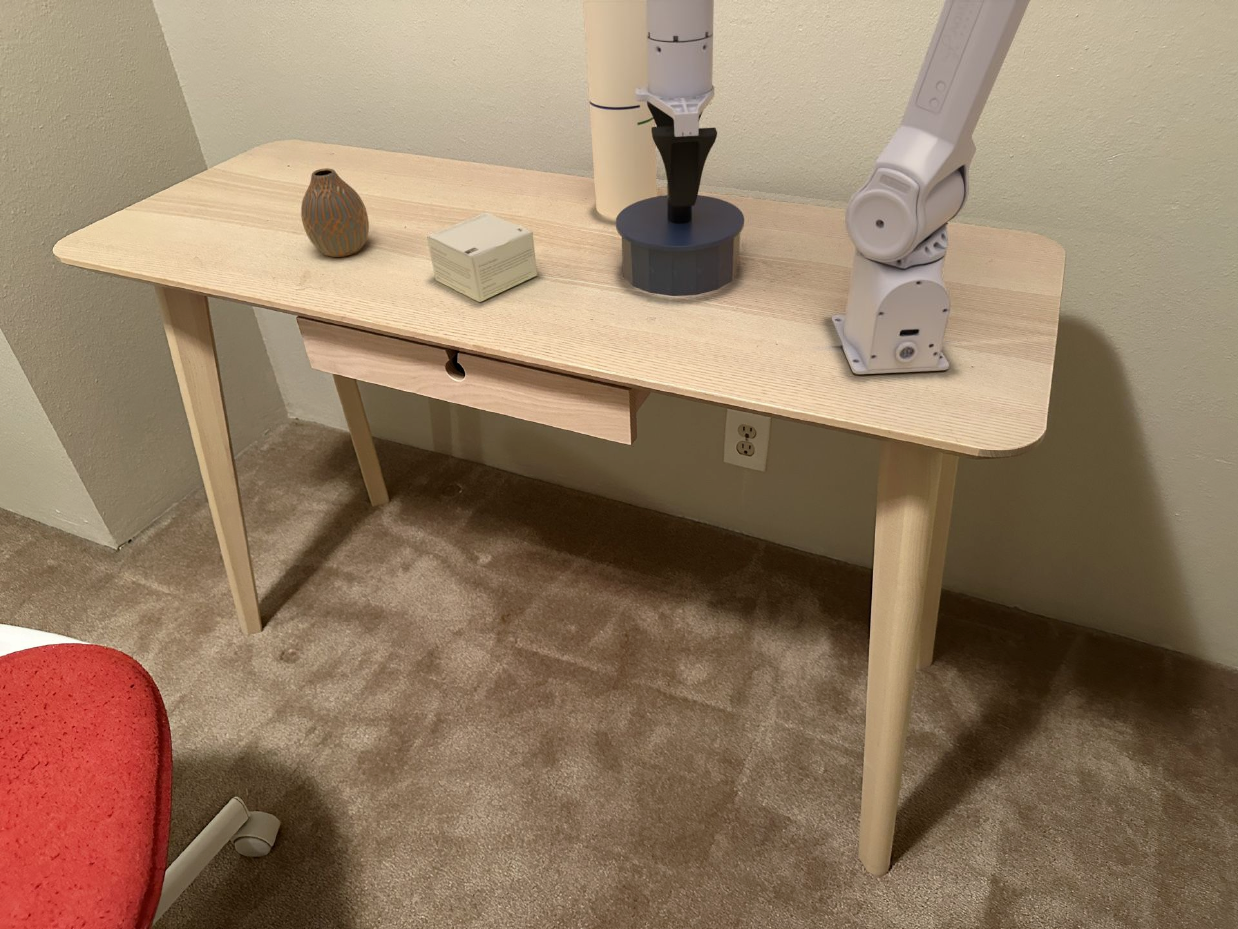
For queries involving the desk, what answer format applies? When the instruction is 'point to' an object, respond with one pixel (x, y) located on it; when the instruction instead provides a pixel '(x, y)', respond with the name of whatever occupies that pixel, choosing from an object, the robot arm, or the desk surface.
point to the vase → (334, 215)
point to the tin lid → (679, 223)
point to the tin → (680, 268)
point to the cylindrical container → (619, 104)
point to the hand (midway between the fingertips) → (680, 189)
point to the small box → (482, 256)
